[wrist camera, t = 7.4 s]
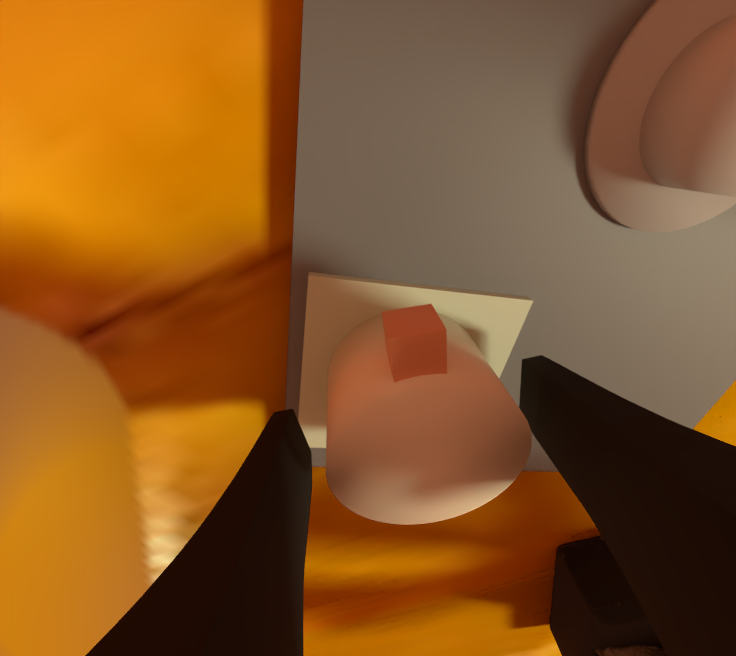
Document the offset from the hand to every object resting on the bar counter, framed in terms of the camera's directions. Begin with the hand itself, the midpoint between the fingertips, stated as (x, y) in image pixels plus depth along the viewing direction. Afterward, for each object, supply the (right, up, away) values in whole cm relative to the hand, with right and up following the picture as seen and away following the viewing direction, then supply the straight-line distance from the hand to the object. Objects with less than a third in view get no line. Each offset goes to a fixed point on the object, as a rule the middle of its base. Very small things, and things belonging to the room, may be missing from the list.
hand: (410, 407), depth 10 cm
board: (+5, +3, +1) cm, 6 cm away
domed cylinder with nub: (0, +1, +1) cm, 1 cm away
